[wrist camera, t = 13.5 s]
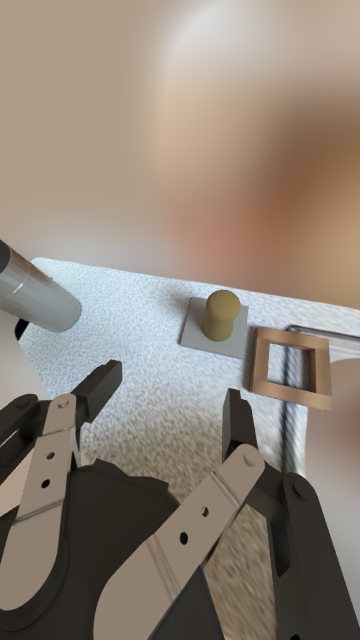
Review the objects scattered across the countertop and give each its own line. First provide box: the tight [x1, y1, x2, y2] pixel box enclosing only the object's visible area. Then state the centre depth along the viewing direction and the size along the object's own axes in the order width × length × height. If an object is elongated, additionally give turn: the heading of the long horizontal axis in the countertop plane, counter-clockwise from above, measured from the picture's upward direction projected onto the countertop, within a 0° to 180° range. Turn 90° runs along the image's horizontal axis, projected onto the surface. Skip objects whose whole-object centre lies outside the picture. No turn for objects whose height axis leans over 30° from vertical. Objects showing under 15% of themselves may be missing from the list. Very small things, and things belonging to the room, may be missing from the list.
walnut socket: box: [249, 326, 332, 412], centre depth 32 cm, size 12×12×2 cm
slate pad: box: [180, 297, 249, 359], centre depth 37 cm, size 12×11×1 cm
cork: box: [202, 290, 240, 342], centre depth 31 cm, size 6×6×11 cm
